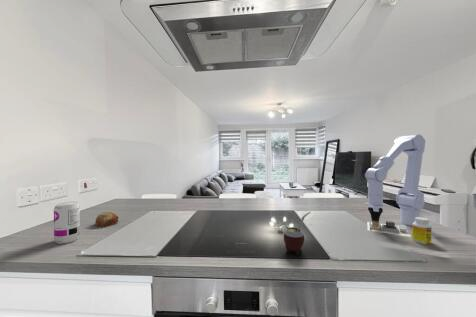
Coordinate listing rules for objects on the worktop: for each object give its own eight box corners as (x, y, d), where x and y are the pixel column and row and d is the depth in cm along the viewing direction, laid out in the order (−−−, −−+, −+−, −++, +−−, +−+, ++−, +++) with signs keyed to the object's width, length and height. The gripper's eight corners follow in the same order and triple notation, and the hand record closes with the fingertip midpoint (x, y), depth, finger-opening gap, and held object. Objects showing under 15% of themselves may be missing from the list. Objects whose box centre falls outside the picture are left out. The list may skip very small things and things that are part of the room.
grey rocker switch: (398, 226, 94) (398, 224, 93) (405, 227, 92) (405, 225, 92) (400, 230, 90) (400, 228, 90) (407, 231, 89) (407, 229, 88)
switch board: (367, 224, 105) (367, 218, 105) (405, 230, 97) (405, 223, 97) (367, 233, 93) (367, 227, 93) (411, 240, 85) (411, 233, 85)
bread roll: (97, 230, 108) (89, 217, 106) (117, 218, 114) (110, 205, 112) (101, 235, 101) (92, 222, 98) (122, 222, 107) (114, 209, 105)
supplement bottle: (428, 249, 77) (428, 221, 77) (409, 244, 81) (409, 218, 81) (433, 245, 80) (433, 219, 80) (415, 241, 84) (415, 215, 84)
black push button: (385, 225, 95) (385, 220, 95) (394, 226, 93) (394, 221, 93) (386, 227, 92) (386, 222, 92) (395, 228, 90) (395, 223, 90)
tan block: (372, 227, 96) (372, 220, 96) (378, 228, 95) (378, 221, 95) (372, 229, 94) (372, 222, 94) (378, 230, 93) (378, 223, 92)
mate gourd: (280, 249, 77) (280, 208, 77) (298, 246, 80) (298, 206, 80) (292, 258, 70) (292, 213, 70) (311, 254, 73) (311, 211, 73)
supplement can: (54, 246, 80) (53, 207, 80) (54, 239, 86) (53, 203, 86) (80, 240, 85) (80, 203, 85) (78, 235, 92) (78, 200, 91)
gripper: (365, 191, 105) (364, 218, 105) (365, 196, 92) (365, 226, 92) (382, 192, 101) (382, 220, 101) (384, 197, 89) (384, 229, 89)
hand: (375, 223), depth 97 cm, fingers closed
